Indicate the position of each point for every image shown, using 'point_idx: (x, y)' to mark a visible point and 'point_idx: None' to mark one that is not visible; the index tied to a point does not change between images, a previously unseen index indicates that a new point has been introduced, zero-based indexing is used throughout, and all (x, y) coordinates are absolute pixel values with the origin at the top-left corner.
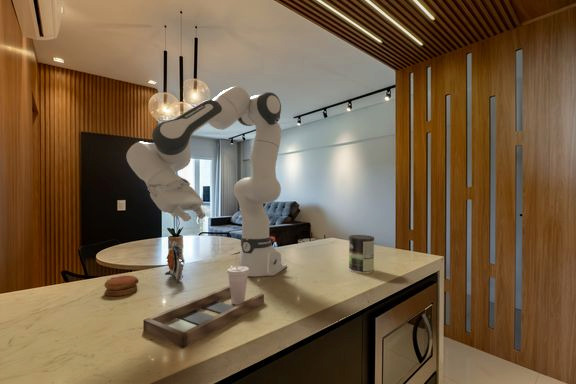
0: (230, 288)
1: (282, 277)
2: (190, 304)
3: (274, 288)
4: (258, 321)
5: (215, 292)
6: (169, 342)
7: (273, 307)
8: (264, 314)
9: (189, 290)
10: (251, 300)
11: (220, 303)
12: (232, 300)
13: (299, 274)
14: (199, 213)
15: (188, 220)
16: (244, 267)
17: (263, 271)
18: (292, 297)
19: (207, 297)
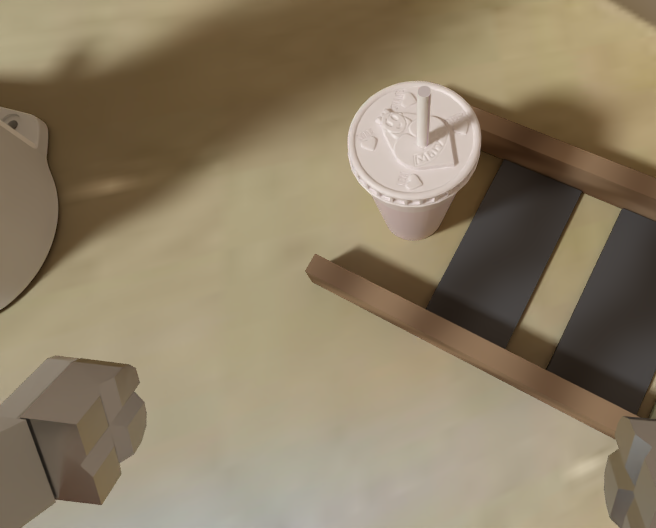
0: (441, 214)
1: (75, 82)
2: (574, 386)
3: (235, 93)
4: (598, 90)
5: (412, 310)
6: None
7: (458, 62)
8: (531, 82)
9: (267, 517)
10: (498, 117)
11: (453, 280)
12: (438, 225)
13: (35, 15)
14: (91, 446)
15: (609, 463)
16: (370, 114)
17: (33, 161)
18: (344, 9)
19: (471, 333)
